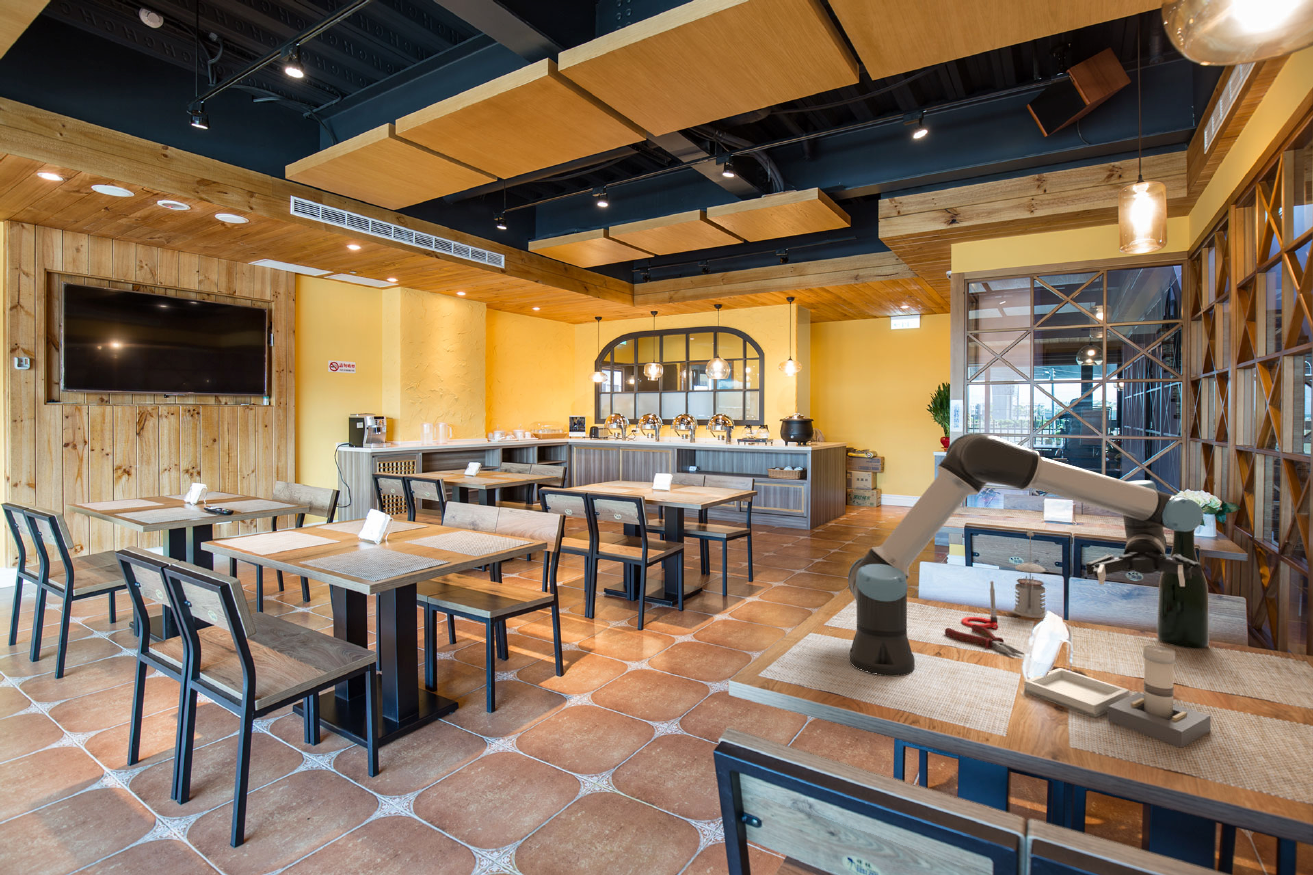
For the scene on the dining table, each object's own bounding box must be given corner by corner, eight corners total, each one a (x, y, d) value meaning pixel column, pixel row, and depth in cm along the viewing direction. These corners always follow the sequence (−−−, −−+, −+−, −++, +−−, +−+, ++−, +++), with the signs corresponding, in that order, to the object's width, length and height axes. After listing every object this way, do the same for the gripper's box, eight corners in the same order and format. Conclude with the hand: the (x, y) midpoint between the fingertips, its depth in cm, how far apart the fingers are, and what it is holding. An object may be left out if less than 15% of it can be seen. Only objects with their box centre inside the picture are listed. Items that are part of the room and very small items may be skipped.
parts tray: (1094, 717, 126) (1094, 705, 126) (1024, 691, 139) (1024, 680, 138) (1129, 701, 133) (1129, 689, 133) (1059, 678, 145) (1059, 667, 145)
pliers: (1001, 662, 157) (1001, 651, 156) (942, 635, 176) (942, 626, 176) (1037, 656, 160) (1037, 646, 160) (975, 631, 179) (975, 622, 179)
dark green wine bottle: (1191, 636, 171) (1193, 515, 170) (1219, 650, 161) (1220, 522, 160) (1148, 634, 173) (1149, 515, 172) (1172, 648, 163) (1174, 521, 162)
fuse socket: (1181, 747, 115) (1181, 728, 115) (1107, 720, 125) (1108, 702, 125) (1210, 730, 121) (1210, 712, 120) (1137, 706, 131) (1138, 689, 131)
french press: (1048, 611, 195) (1049, 530, 195) (1048, 621, 185) (1048, 536, 185) (1012, 606, 201) (1012, 528, 200) (1010, 616, 191) (1010, 534, 190)
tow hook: (962, 628, 182) (999, 630, 178) (960, 583, 182) (996, 585, 178) (960, 619, 190) (995, 621, 186) (958, 577, 190) (993, 578, 186)
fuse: (1167, 734, 120) (1168, 656, 119) (1137, 723, 124) (1138, 648, 123) (1178, 727, 122) (1179, 651, 121) (1149, 717, 126) (1150, 643, 126)
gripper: (1217, 570, 140) (1221, 599, 124) (1083, 569, 156) (1072, 594, 140) (1211, 537, 140) (1215, 561, 124) (1078, 539, 156) (1066, 561, 140)
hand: (1139, 579), depth 132 cm, fingers open, 13 cm apart
